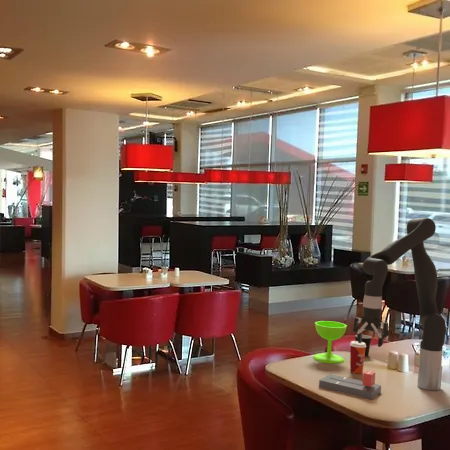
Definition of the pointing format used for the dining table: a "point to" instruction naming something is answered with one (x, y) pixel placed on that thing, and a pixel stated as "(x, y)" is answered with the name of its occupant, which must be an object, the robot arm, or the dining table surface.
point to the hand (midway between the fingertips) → (369, 344)
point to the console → (349, 386)
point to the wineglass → (329, 340)
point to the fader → (369, 378)
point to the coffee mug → (367, 341)
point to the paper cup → (357, 356)
